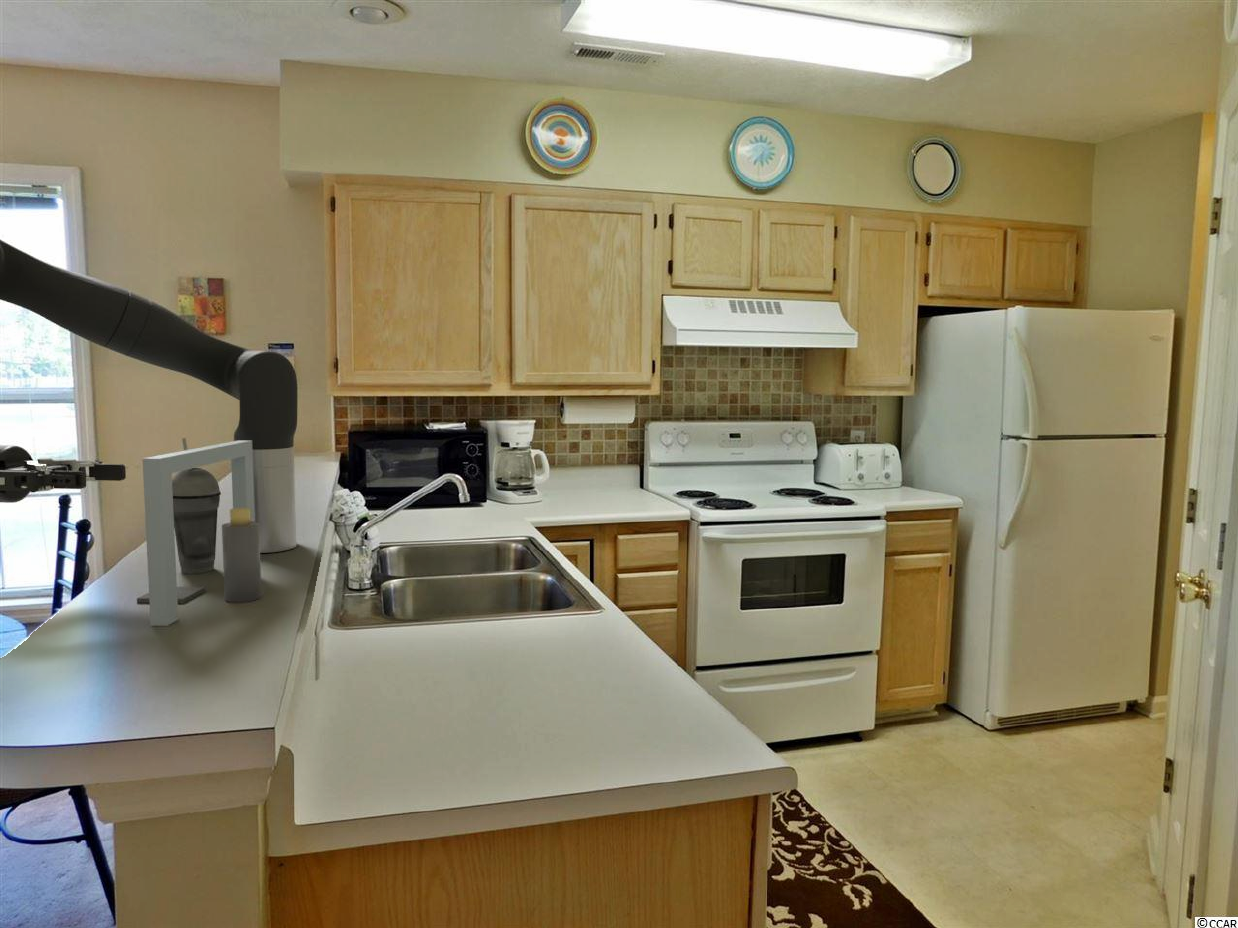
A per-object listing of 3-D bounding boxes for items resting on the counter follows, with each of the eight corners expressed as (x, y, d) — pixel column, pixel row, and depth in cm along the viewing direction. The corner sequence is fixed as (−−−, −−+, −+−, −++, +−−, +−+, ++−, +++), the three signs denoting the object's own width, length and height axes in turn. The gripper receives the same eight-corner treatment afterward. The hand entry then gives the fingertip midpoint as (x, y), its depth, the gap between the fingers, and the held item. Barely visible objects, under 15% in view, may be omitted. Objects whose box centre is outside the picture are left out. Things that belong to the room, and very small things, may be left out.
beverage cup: (209, 576, 125) (203, 440, 123) (160, 575, 125) (153, 440, 123) (232, 564, 132) (227, 436, 130) (186, 564, 132) (180, 436, 130)
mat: (161, 590, 117) (161, 586, 117) (205, 591, 117) (205, 587, 117) (137, 602, 111) (136, 598, 111) (183, 603, 111) (182, 598, 111)
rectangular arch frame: (243, 574, 126) (238, 440, 124) (256, 574, 126) (252, 440, 124) (150, 625, 101) (142, 458, 99) (167, 625, 101) (159, 458, 99)
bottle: (233, 593, 116) (230, 506, 115) (266, 593, 116) (264, 506, 115) (218, 602, 111) (214, 511, 110) (252, 602, 111) (249, 512, 110)
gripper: (-64, 449, 104) (68, 452, 104) (19, 440, 118) (135, 443, 118) (-60, 510, 105) (71, 513, 105) (21, 494, 119) (137, 496, 119)
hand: (105, 476), depth 112 cm, fingers open, 8 cm apart
